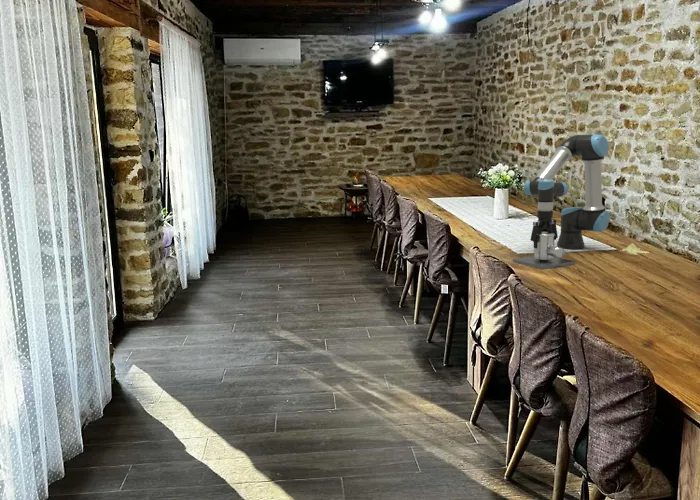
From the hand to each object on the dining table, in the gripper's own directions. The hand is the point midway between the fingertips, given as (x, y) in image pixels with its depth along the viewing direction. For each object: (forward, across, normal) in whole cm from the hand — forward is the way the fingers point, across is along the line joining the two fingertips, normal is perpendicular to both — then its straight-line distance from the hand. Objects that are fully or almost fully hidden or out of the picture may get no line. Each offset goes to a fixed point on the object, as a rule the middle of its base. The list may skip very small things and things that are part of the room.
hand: (543, 253), depth 315 cm
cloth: (+8, -65, +2) cm, 66 cm away
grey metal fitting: (+3, 0, 0) cm, 3 cm away
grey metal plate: (+5, 0, 0) cm, 5 cm away
